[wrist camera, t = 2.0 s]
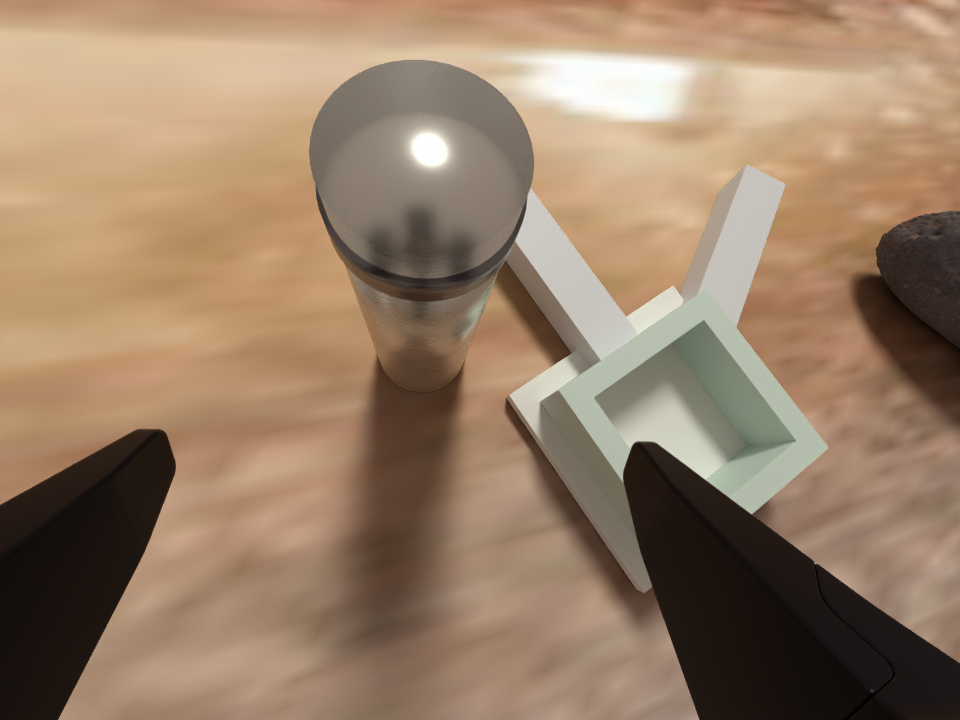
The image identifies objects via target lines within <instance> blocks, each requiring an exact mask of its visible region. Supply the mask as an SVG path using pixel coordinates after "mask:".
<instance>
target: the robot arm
mask: <svg viewBox="0 0 960 720" xmlns="http://www.w3.org/2000/svg"><path fill="white" fill-rule="evenodd" d="M175 470H176V462H175V459H174V455H173V452H172V449H171V446H170V443H169V440H168V437H167V434H166V433H165V432H164V431H163V430H160V429H137V430H135V431H133V432H131V433H129V434H127V435H126V436H124V437H122V438H120V439H118V440H117V441H115V442H113V443H111V444H109V445H108V446H106V447H104V448H102V449H100V450H99V451H97V452H95V453H93V454H91V455H90V456H88V457H86V458H84V459H82V460H80V461H79V462H77V463H75V464H73V465H71V466H70V467H68V468H66V469H64V470H62V471H61V472H59V473H57V474H55V475H53V476H52V477H50V478H48V479H46V480H44V481H43V482H41V483H39V484H37V485H35V486H34V487H32V488H30V489H28V490H26V491H24V492H23V493H21V494H19V495H17V496H15V497H14V498H12V499H10V500H8V501H6V502H5V503H3V504H1V505H0V720H58V719H59V717H60V715H61V713H62V711H63V709H64V707H65V705H66V703H67V701H68V699H69V698H70V696H71V694H72V692H73V690H74V688H75V686H76V684H77V682H78V680H79V678H80V676H81V674H82V672H83V670H84V669H85V667H86V665H87V663H88V661H89V659H90V657H91V655H92V653H93V651H94V649H95V647H96V645H97V643H98V641H99V640H100V638H101V636H102V634H103V632H104V630H105V628H106V626H107V624H108V622H109V620H110V618H111V616H112V614H113V612H114V611H115V609H116V607H117V605H118V603H119V601H120V599H121V597H122V595H123V593H124V591H125V589H126V587H127V585H128V583H129V582H130V580H131V578H132V576H133V574H134V572H135V570H136V568H137V566H138V564H139V562H140V560H141V558H142V556H143V554H144V552H145V550H146V547H147V545H148V542H149V540H150V538H151V535H152V532H153V530H154V527H155V525H156V522H157V519H158V517H159V514H160V512H161V509H162V506H163V504H164V501H165V498H166V496H167V493H168V491H169V488H170V485H171V483H172V480H173V478H174V475H175ZM623 482H624V487H625V491H626V495H627V499H628V504H629V508H630V512H631V516H632V521H633V525H634V529H635V533H636V538H637V542H638V545H639V549H640V552H641V555H642V558H643V562H644V564H645V567H646V570H647V573H648V576H649V579H650V581H651V584H652V587H653V590H654V593H655V595H656V598H657V601H658V604H659V607H660V610H661V612H662V615H663V618H664V621H665V624H666V627H667V629H668V632H669V635H670V638H671V641H672V644H673V646H674V649H675V652H676V655H677V658H678V660H679V663H680V666H681V669H682V672H683V675H684V677H685V680H686V683H687V686H688V689H689V692H690V694H691V697H692V700H693V703H694V706H695V709H696V711H697V714H698V717H699V720H960V663H959V662H957V661H956V660H954V659H953V658H951V657H950V656H948V655H947V654H945V653H944V652H942V651H941V650H939V649H938V648H936V647H935V646H933V645H932V644H930V643H929V642H927V641H926V640H924V639H923V638H921V637H920V636H918V635H917V634H915V633H914V632H912V631H911V630H909V629H908V628H906V627H905V626H903V625H902V624H901V623H899V622H898V621H896V620H895V619H893V618H892V617H890V616H889V615H887V614H886V613H884V612H883V611H882V610H880V609H879V608H877V607H876V606H874V605H873V604H871V603H870V602H869V601H867V600H866V599H864V598H863V597H862V596H860V595H859V594H858V593H856V592H855V591H854V590H852V589H851V588H849V587H848V586H847V585H845V584H844V583H843V582H841V581H840V580H838V579H837V578H836V577H834V576H833V575H832V574H830V573H829V572H828V571H826V570H825V569H824V568H823V567H821V566H820V565H818V564H814V561H813V560H812V559H810V558H809V557H808V556H806V555H805V554H804V553H802V552H801V551H800V550H798V549H797V548H796V547H794V546H793V545H792V544H790V543H789V542H788V541H786V540H785V539H784V538H782V537H781V536H780V535H778V534H777V533H776V532H774V531H773V530H772V529H770V528H769V527H768V526H766V525H765V524H764V523H762V522H761V521H760V520H758V519H757V518H756V517H754V516H753V515H752V514H750V513H749V512H748V511H746V510H745V509H744V508H742V507H741V506H740V505H738V504H737V503H736V502H734V501H733V500H732V499H730V498H729V497H728V496H727V495H725V494H724V493H723V492H721V491H720V490H719V489H717V488H716V487H715V486H713V485H712V484H711V483H709V482H708V481H707V480H705V479H704V478H703V477H701V476H700V475H699V474H697V473H696V472H695V471H693V470H692V469H691V468H689V467H688V466H687V465H685V464H684V463H683V462H681V461H680V460H679V459H677V458H676V457H675V456H673V455H672V454H671V453H669V452H668V451H667V450H665V449H664V448H663V447H661V446H660V445H659V444H657V443H655V442H652V441H637V442H635V443H634V444H633V445H632V447H631V450H630V453H629V456H628V458H627V461H626V464H625V467H624V470H623Z"/></svg>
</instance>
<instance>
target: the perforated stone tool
mask: <svg viewBox="0 0 960 720" xmlns="http://www.w3.org/2000/svg"><path fill="white" fill-rule="evenodd" d="M876 256H877V266H878V268H879V270H880V273H881V275H882V276H883V278H884V280H885V282H886V283H887V284H888V286H889V287H890V289H891V290H892V292H893V293H894V294H895V296H896V297H897V298H898V299H899V300H900V301H901V302H902V303H903V304H904V305H905V306H906V307H907V308H908V309H909V310H910V311H911V312H912V313H914V314H915V315H916V316H917V317H918V318H920V319H921V320H922V321H924V322H925V323H927V324H928V325H929V326H930V327H932V328H933V329H934V330H936V331H938V333H940V334H941V335H942V336H943V337H944V338H945V339H947V340H948V341H949V342H950V343H952V344H953V345H955V346H957V347H958V348H960V211H948V212H940V213H932V214H925V215H921V216H918V217H915V218H912V219H910V220H908V221H906V222H902V223H901V224H899V225H897V226H896V227H894V228H893V229H891V230H890V231H889V232H888V233H885V234H883V236H882V238H881V240H880V243H879V245H878V247H877V249H876Z"/></svg>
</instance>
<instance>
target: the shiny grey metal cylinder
mask: <svg viewBox="0 0 960 720" xmlns="http://www.w3.org/2000/svg"><path fill="white" fill-rule="evenodd" d="M309 154H310V165H311V170H312V174H313V178H314V181H315V184H316V197H317V202H318V206H319V210H320V213H321V215H322V218H323V221H324V223H325V226H326V229H327V231H328V234H329V236H330V239H331V242H332V244H333V247H334V248H335V250H336V252H337V254H338V255H339V257H340V258H341V260H342V261H343V262H344V264H345V267H346V269H347V272H348V275H349V278H350V280H351V283H352V286H353V289H354V292H355V294H356V297H357V300H358V303H359V305H360V308H361V311H362V314H363V316H364V319H365V322H366V325H367V327H368V330H369V333H370V336H371V339H372V341H373V344H374V347H375V350H376V352H377V355H378V358H379V361H380V363H381V366H382V368H383V370H384V372H385V373H386V375H387V376H388V377H389V378H390V379H391V380H392V381H393V382H394V383H395V384H397V385H398V386H400V387H402V388H404V389H407V390H410V391H414V392H430V391H434V390H437V389H440V388H442V387H444V386H445V385H447V384H448V383H450V382H451V381H452V380H453V379H454V378H455V377H456V376H457V374H458V373H459V371H460V370H461V367H462V365H463V363H464V360H465V357H466V355H467V352H468V350H469V347H470V344H471V342H472V339H473V337H474V334H475V331H476V329H477V326H478V324H479V321H480V318H481V316H482V313H483V311H484V308H485V305H486V303H487V300H488V298H489V295H490V292H491V290H492V287H493V284H494V282H495V279H496V277H497V274H498V271H499V269H500V268H501V267H502V265H503V264H504V262H505V261H506V259H507V258H508V256H509V254H510V252H511V250H512V247H513V245H514V242H515V240H516V238H517V235H518V233H519V230H520V228H521V225H522V223H523V220H524V216H525V212H526V207H527V198H528V197H527V196H528V193H529V191H530V187H531V183H532V179H533V171H534V155H533V149H532V143H531V140H530V137H529V134H528V131H527V128H526V126H525V124H524V122H523V120H522V118H521V117H520V115H519V114H518V112H517V111H516V109H515V108H514V106H513V105H512V104H511V103H510V102H509V101H508V99H507V98H506V97H505V96H504V95H503V94H502V93H500V92H499V91H498V90H497V89H496V88H495V87H493V86H492V85H491V84H489V83H488V82H487V81H485V80H483V79H482V78H480V77H478V76H476V75H475V74H473V73H471V72H468V71H466V70H464V69H461V68H459V67H455V66H452V65H449V64H445V63H440V62H435V61H426V60H403V61H395V62H389V63H385V64H381V65H378V66H375V67H372V68H370V69H367V70H365V71H363V72H361V73H359V74H357V75H355V76H353V77H352V78H350V79H349V80H348V81H346V82H345V83H343V84H342V85H341V86H340V87H339V88H338V89H337V90H335V91H334V92H333V94H332V95H331V96H330V97H329V98H328V100H327V101H326V102H325V103H324V105H323V107H322V108H321V110H320V112H319V113H318V116H317V118H316V120H315V123H314V125H313V129H312V133H311V137H310V148H309Z"/></svg>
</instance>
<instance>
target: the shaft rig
mask: <svg viewBox="0 0 960 720" xmlns="http://www.w3.org/2000/svg"><path fill="white" fill-rule="evenodd" d="M785 185H786V184H784V183H782V182H781V181H779V180H777V179H775V178H773V177H771V176H769V175H767V174H765V173H763V172H761V171H759V170H757V169H755V168H753V167H751V166H749V165H746V166H745V167H744V168H743V169H741V170H740V171H739V172H738V173H737V174H736V175H735V176H734V177H733V178H732V179H731V180H730V181H729V182H728V183H727V184H726V185H725V186H724V187H723V188H721V189H720V192H719V194H718V197H717V199H716V202H715V204H714V207H713V210H712V212H711V215H710V217H709V220H708V222H707V225H706V227H705V230H704V233H703V235H702V238H701V240H700V243H699V245H698V248H697V250H696V253H695V255H694V258H693V261H692V263H691V266H690V268H689V271H688V273H687V276H686V278H685V281H684V284H683V286H682V289H681V291H680V294H679V293H678V291H677V290H676V289H675V287H674V286H672V287H670V288H669V289H667V290H666V291H664V292H663V293H661V294H660V295H658V296H657V297H655V298H654V299H652V300H651V301H649V302H648V303H646V304H645V305H643V306H642V307H640V308H639V309H637V310H636V311H634V312H633V313H631V314H630V315H628V316H627V317H626V316H625V315H624V314H623V312H622V311H621V310H620V308H619V307H618V306H617V304H616V303H615V302H614V300H613V299H612V297H611V296H610V295H609V293H608V292H607V291H606V289H605V288H604V287H603V285H602V284H601V283H600V281H599V280H598V278H597V277H596V276H595V274H594V273H593V272H592V270H591V269H590V268H589V266H588V265H587V264H586V262H585V261H584V259H583V258H582V257H581V255H580V254H579V253H578V251H577V250H576V249H575V247H574V246H573V245H572V243H571V242H570V240H569V239H568V238H567V236H566V235H565V234H564V232H563V231H562V230H561V228H560V227H559V226H558V224H557V223H556V222H555V220H554V219H553V217H552V216H551V215H550V213H549V212H548V211H547V209H546V208H545V207H544V205H543V204H542V203H541V201H540V200H539V198H538V197H537V196H536V194H535V193H534V192H533V190H532V189H531V188H530V191H529V193H528V196H527V197H528V198H527V207H526V212H525V216H524V220H523V223H522V225H521V228H520V230H519V233H518V235H517V238H516V240H515V242H514V245H513V247H512V250H511V252H510V254H509V256H508V258H507V259H506V262H507V263H508V265H509V266H510V268H511V269H512V270H513V272H514V273H515V275H516V276H517V277H518V279H519V280H520V282H521V283H522V284H523V286H524V287H525V289H526V290H527V291H528V293H529V294H530V296H531V297H532V299H533V300H534V301H535V303H536V304H537V306H538V307H539V308H540V310H541V311H542V313H543V314H544V315H545V317H546V318H547V320H548V321H549V322H550V324H551V325H552V327H553V328H554V329H555V331H556V332H557V334H558V335H559V337H560V338H561V339H562V341H563V342H564V344H565V345H566V346H567V348H568V349H569V351H570V352H571V354H570V355H568V356H567V357H565V358H564V359H562V360H561V361H559V362H558V363H556V364H555V365H553V366H552V367H550V368H549V369H547V370H546V371H544V372H543V373H541V374H540V375H538V376H537V377H535V378H534V379H532V380H531V381H529V382H528V383H526V384H525V385H523V386H522V387H521V388H519V389H518V390H516V391H515V392H513V393H512V394H510V395H509V396H508V397H506V398H507V400H508V401H509V403H510V404H511V406H512V407H513V409H514V410H515V412H516V413H517V415H518V416H519V418H520V419H521V421H522V422H523V423H524V425H525V426H526V428H527V429H528V431H529V432H530V434H531V435H532V437H533V438H534V440H535V441H536V443H537V444H538V446H539V447H540V449H541V450H542V451H543V453H544V454H545V456H546V457H547V459H548V460H549V462H550V463H551V465H552V466H553V468H554V469H555V471H556V472H557V474H558V475H559V476H560V478H561V479H562V481H563V482H564V484H565V485H566V487H567V488H568V490H569V491H570V493H571V494H572V496H573V497H574V499H575V500H576V501H577V503H578V504H579V506H580V507H581V509H582V510H583V512H584V513H585V515H586V516H587V518H588V519H589V521H590V522H591V524H592V525H593V527H594V528H595V529H596V531H597V532H598V534H599V535H600V537H601V538H602V540H603V541H604V543H605V544H606V546H607V547H608V549H609V550H610V552H611V553H612V554H613V556H614V557H615V559H616V560H617V562H618V563H619V565H620V566H621V568H622V569H623V571H624V572H625V574H626V575H627V577H628V578H629V579H630V581H631V582H632V584H633V585H634V587H635V588H636V589H637V590H639V591H641V592H643V593H645V592H647V591H648V590H649V589H650V588H651V587H652V584H651V581H650V579H649V576H648V573H647V570H646V567H645V564H644V562H643V558H642V555H641V552H640V549H639V545H638V542H637V538H636V533H635V529H634V525H633V521H632V516H631V512H630V508H629V504H628V499H627V495H626V491H625V487H624V482H623V470H624V467H625V464H626V461H627V458H628V456H629V453H630V450H631V447H632V445H633V444H634V443H635V442H637V441H652V442H655V443H657V444H659V445H660V446H661V447H663V448H664V449H665V450H667V451H668V452H669V453H671V454H672V455H673V456H675V457H676V458H677V459H679V460H680V461H681V462H683V463H684V464H685V465H687V466H688V467H689V468H691V469H692V470H693V471H695V472H696V473H697V474H699V475H700V476H701V477H703V478H704V479H705V480H707V481H708V482H709V483H711V484H712V485H713V486H715V487H716V488H717V489H719V490H720V491H721V492H723V493H724V494H725V495H727V496H728V497H729V498H730V499H732V500H733V501H734V502H736V503H737V504H738V505H740V506H741V507H742V508H744V509H745V510H746V511H748V512H749V513H750V514H753V513H754V512H755V511H756V510H757V509H759V508H760V507H761V506H762V505H763V504H764V503H766V502H767V501H768V500H769V499H770V498H771V497H773V496H774V495H775V494H776V493H777V492H778V491H779V490H781V489H782V488H783V487H784V486H785V485H786V484H788V483H789V482H790V481H791V480H792V479H793V478H795V477H796V476H797V475H798V474H799V473H800V472H802V471H803V470H804V469H805V468H806V467H807V466H809V465H810V464H811V463H812V462H813V461H814V460H815V459H817V458H818V457H819V456H820V455H821V454H822V453H824V452H825V451H826V450H827V449H828V448H829V447H828V446H827V445H826V443H825V442H824V441H823V440H822V438H821V437H820V436H819V434H818V433H817V432H816V430H815V429H814V428H813V427H812V425H811V424H810V423H809V421H808V420H807V419H806V418H805V416H804V415H803V414H802V412H801V411H800V410H799V408H798V407H797V406H796V405H795V403H794V402H793V401H792V399H791V398H790V397H789V395H788V394H787V393H786V392H785V390H784V389H783V388H782V386H781V385H780V384H779V382H778V381H777V380H776V379H775V377H774V376H773V375H772V373H771V372H770V371H769V370H768V368H767V367H766V366H765V364H764V363H763V362H762V360H761V359H760V358H759V357H758V355H757V354H756V353H755V351H754V350H753V349H752V347H751V346H750V345H749V344H748V342H747V341H746V340H745V338H744V337H743V336H742V335H741V333H740V332H739V331H738V329H737V328H736V326H737V323H738V320H739V317H740V315H741V312H742V309H743V306H744V303H745V300H746V297H747V294H748V291H749V289H750V286H751V283H752V280H753V277H754V274H755V271H756V268H757V266H758V263H759V260H760V257H761V254H762V251H763V248H764V245H765V242H766V240H767V237H768V234H769V231H770V228H771V225H772V222H773V219H774V216H775V214H776V211H777V208H778V205H779V202H780V199H781V196H782V193H783V190H784V188H785Z"/></svg>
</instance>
